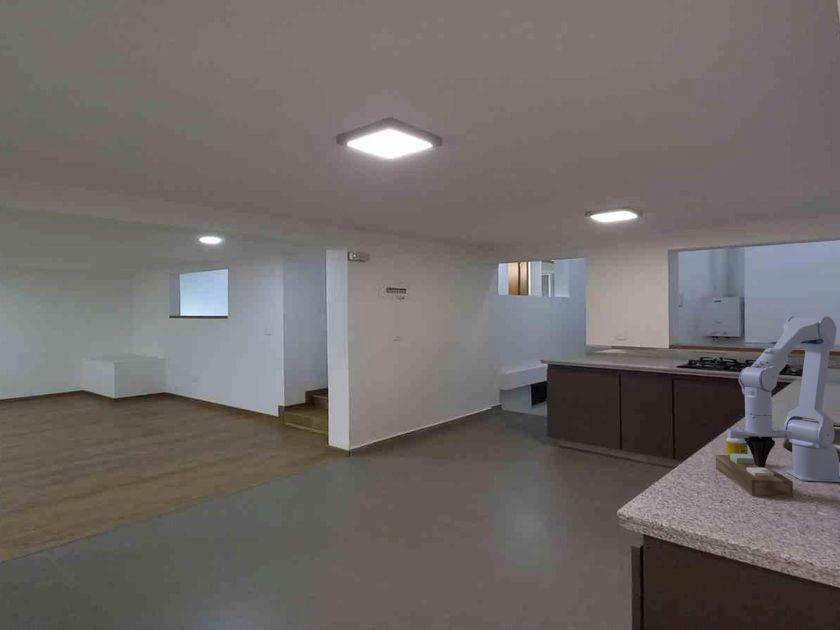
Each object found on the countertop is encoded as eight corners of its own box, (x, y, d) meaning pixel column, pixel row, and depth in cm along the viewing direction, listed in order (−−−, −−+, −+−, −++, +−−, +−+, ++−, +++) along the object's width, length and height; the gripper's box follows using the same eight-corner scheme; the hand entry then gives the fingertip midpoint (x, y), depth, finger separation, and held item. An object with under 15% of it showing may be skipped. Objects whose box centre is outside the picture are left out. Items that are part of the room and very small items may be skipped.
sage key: (747, 464, 137) (747, 453, 137) (754, 469, 132) (754, 458, 132) (730, 464, 138) (729, 453, 138) (737, 468, 133) (736, 458, 133)
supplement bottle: (732, 458, 151) (731, 427, 151) (751, 462, 146) (750, 431, 146) (723, 461, 148) (722, 430, 148) (743, 466, 143) (742, 433, 143)
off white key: (765, 479, 127) (765, 467, 127) (774, 485, 123) (773, 473, 123) (746, 478, 128) (746, 467, 128) (754, 484, 123) (754, 472, 124)
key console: (750, 469, 140) (749, 455, 140) (793, 497, 118) (792, 481, 118) (716, 468, 142) (715, 454, 142) (752, 495, 120) (751, 479, 120)
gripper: (779, 410, 128) (781, 461, 128) (720, 410, 130) (722, 460, 130) (796, 416, 121) (798, 470, 121) (734, 415, 123) (735, 469, 123)
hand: (759, 466), depth 125 cm, fingers closed
